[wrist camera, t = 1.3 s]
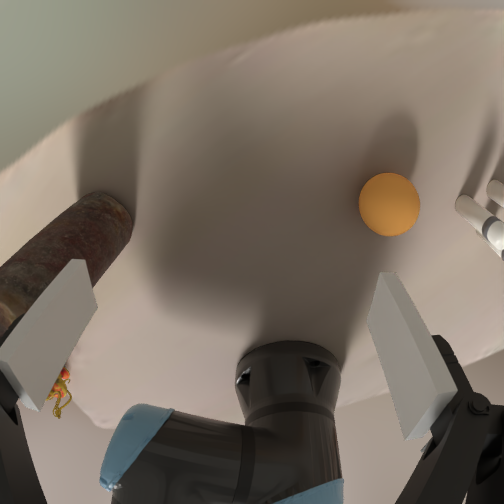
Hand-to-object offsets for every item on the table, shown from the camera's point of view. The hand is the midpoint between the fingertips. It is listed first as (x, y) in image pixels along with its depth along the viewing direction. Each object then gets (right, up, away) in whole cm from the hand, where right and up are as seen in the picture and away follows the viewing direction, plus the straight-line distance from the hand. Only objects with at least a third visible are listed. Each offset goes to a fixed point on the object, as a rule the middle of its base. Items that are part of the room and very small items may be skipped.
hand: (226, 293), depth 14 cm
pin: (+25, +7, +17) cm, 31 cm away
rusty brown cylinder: (-15, +6, +20) cm, 26 cm away
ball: (+14, +6, +15) cm, 21 cm away
